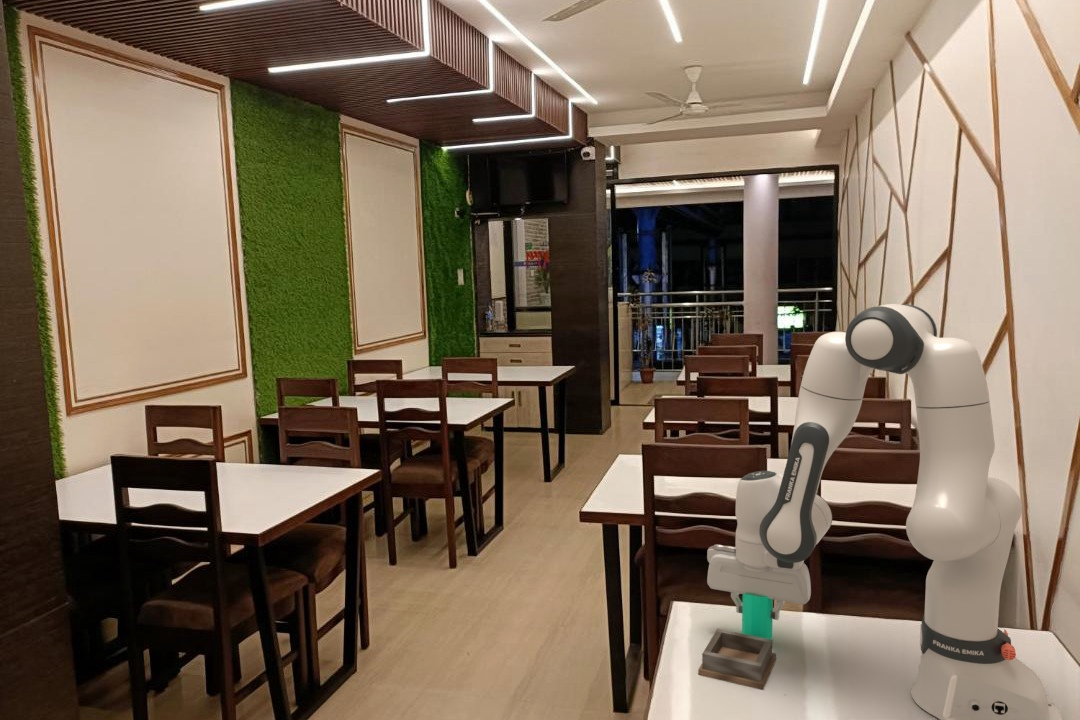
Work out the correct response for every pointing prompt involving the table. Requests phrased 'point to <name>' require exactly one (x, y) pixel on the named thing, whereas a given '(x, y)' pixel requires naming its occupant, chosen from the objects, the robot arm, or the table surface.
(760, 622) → the candle
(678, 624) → the table surface
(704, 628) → the table surface
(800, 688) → the table surface
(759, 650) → the holder
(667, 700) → the table surface
